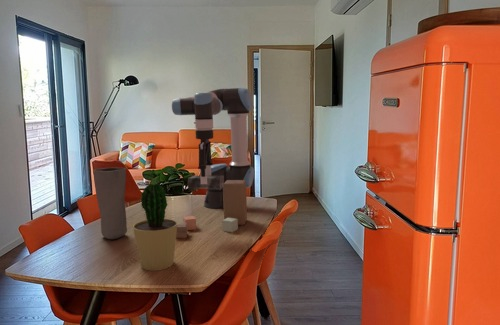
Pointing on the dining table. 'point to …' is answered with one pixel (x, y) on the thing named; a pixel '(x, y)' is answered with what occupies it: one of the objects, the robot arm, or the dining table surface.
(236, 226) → the sage cube
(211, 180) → the stone block
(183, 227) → the walnut cube
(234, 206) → the wooden block
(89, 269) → the dining table surface
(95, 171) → the vase
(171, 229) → the potted cactus
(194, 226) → the terracotta cube
